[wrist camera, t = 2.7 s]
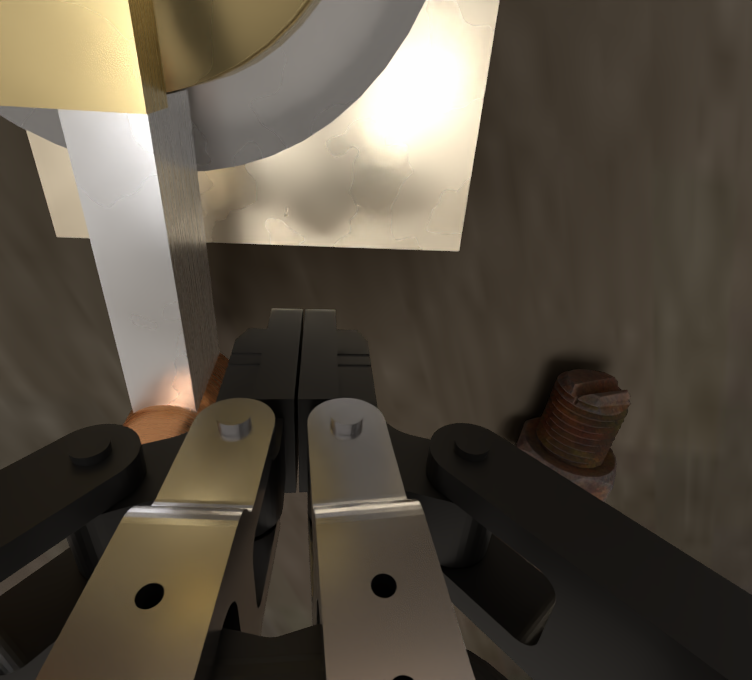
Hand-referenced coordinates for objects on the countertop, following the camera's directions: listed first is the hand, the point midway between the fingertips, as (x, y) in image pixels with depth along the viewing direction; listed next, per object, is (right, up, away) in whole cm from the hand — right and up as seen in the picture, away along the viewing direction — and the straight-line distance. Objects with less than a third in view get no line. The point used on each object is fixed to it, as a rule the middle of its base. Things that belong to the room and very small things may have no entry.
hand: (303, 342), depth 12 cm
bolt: (+10, -7, +15) cm, 19 cm away
